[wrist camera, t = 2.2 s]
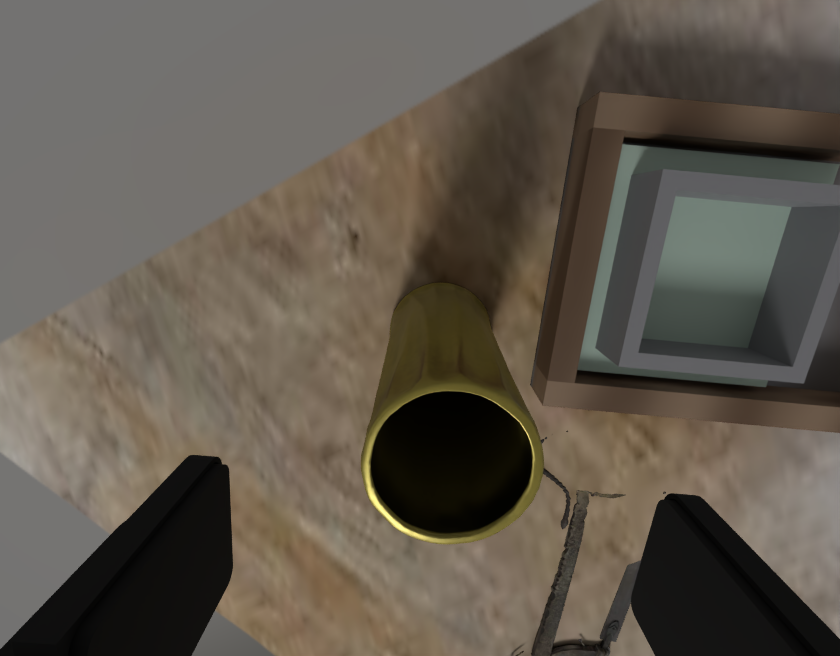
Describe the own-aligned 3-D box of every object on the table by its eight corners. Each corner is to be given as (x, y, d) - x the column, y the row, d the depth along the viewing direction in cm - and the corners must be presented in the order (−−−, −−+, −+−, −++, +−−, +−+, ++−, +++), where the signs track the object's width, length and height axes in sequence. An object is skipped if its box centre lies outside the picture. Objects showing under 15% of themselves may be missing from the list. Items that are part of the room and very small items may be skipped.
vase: (396, 382, 26) (360, 566, 13) (383, 287, 25) (326, 377, 11) (493, 373, 26) (564, 550, 12) (486, 276, 24) (559, 355, 11)
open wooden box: (1010, 147, 22) (1097, 137, 19) (894, 418, 26) (952, 443, 23) (577, 108, 22) (599, 91, 19) (530, 384, 26) (542, 405, 23)
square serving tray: (818, 166, 22) (906, 156, 18) (750, 379, 25) (812, 411, 21) (609, 147, 22) (650, 132, 18) (567, 362, 25) (594, 391, 21)
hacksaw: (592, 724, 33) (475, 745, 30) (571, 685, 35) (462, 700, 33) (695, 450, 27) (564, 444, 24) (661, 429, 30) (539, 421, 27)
